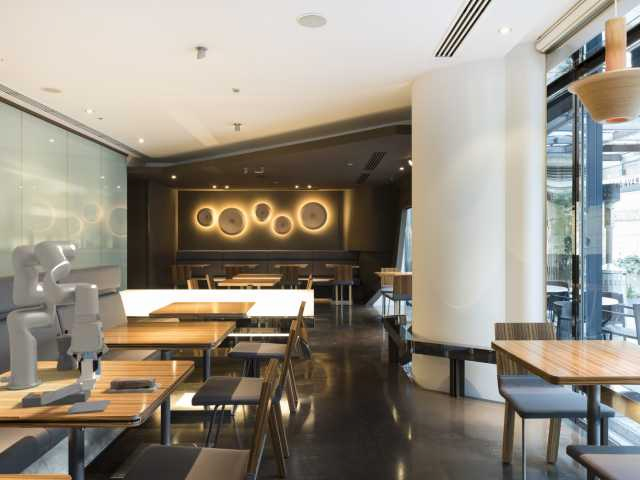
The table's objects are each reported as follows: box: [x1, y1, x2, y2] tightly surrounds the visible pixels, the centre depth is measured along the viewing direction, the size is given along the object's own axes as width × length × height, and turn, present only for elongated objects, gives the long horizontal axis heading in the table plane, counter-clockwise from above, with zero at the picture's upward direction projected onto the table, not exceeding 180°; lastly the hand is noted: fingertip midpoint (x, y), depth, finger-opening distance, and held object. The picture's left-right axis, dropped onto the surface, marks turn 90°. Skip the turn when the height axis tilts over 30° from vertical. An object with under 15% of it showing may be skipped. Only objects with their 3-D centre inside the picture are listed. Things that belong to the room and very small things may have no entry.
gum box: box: [83, 350, 102, 375], centre depth 227 cm, size 20×5×23 cm, turn 32°
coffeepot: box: [55, 329, 78, 372], centre depth 236 cm, size 15×9×18 cm, turn 54°
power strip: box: [21, 389, 92, 408], centre depth 184 cm, size 21×8×4 cm, turn 101°
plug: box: [75, 359, 102, 390], centre depth 176 cm, size 6×6×10 cm
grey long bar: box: [41, 382, 82, 405], centre depth 175 cm, size 18×2×3 cm, turn 164°
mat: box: [65, 399, 112, 415], centre depth 176 cm, size 12×11×1 cm
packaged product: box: [107, 376, 163, 394], centre depth 198 cm, size 18×5×10 cm
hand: (88, 370), depth 176 cm, fingers closed on plug, 3 cm apart
